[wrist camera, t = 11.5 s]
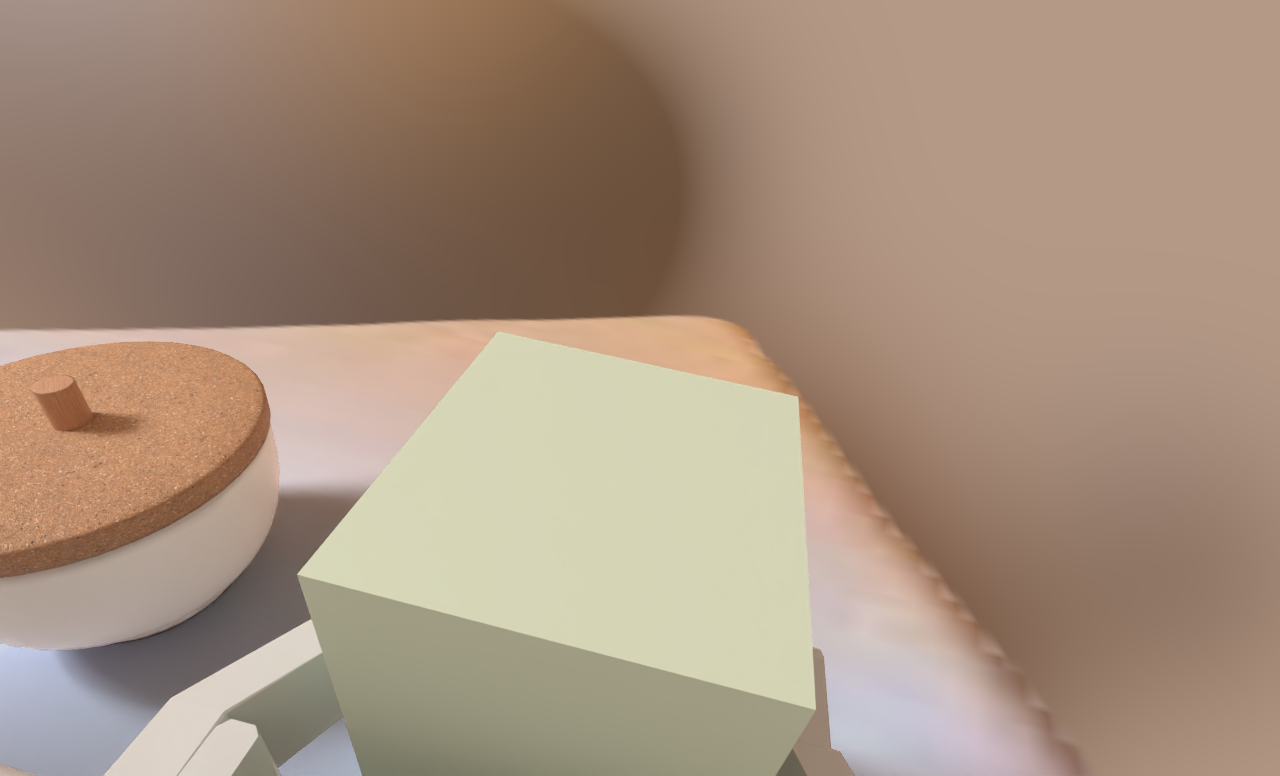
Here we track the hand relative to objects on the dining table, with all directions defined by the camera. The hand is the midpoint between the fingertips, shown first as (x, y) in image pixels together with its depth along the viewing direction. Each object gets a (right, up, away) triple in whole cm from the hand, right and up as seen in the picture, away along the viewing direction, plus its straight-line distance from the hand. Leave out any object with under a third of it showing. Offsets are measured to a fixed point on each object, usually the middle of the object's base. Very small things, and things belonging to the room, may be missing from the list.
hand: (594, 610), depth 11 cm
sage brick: (-1, -5, +2) cm, 6 cm away
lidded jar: (-19, -3, +13) cm, 23 cm away
